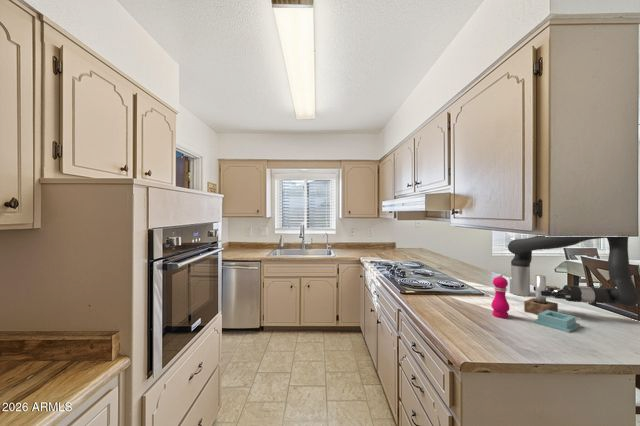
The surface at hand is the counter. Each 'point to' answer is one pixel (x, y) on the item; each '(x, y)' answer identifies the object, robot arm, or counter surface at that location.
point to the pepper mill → (500, 297)
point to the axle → (540, 289)
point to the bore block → (539, 306)
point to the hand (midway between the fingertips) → (537, 290)
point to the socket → (557, 321)
